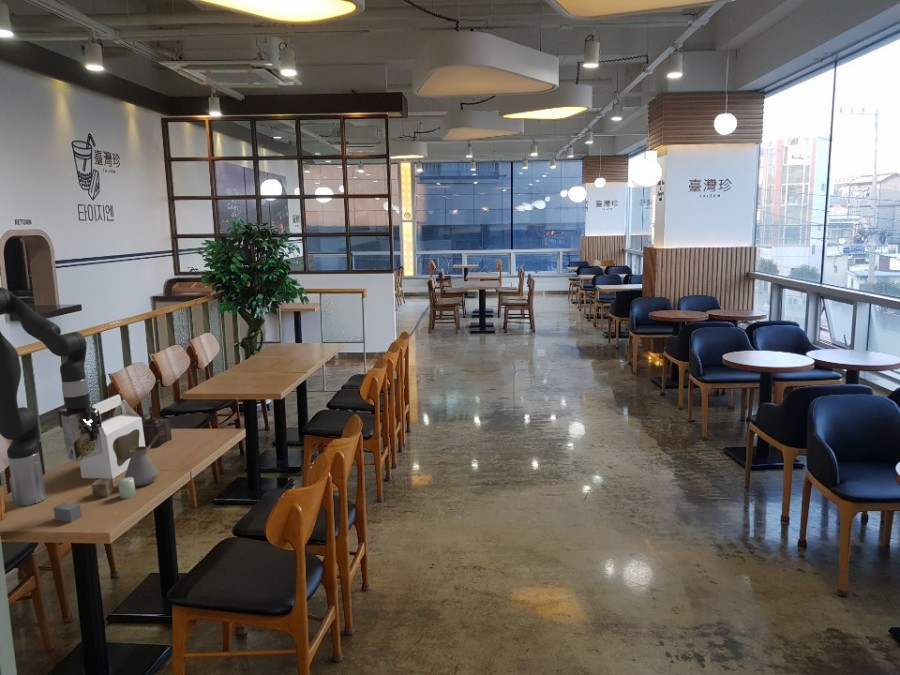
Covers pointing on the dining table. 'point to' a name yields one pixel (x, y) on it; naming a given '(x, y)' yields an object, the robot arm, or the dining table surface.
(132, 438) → the gable box
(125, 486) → the sage cylinder
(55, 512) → the charcoal block
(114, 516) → the dining table surface
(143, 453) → the coffee pot
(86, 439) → the coffee box
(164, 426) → the manual coffee grinder
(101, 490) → the walnut cube
